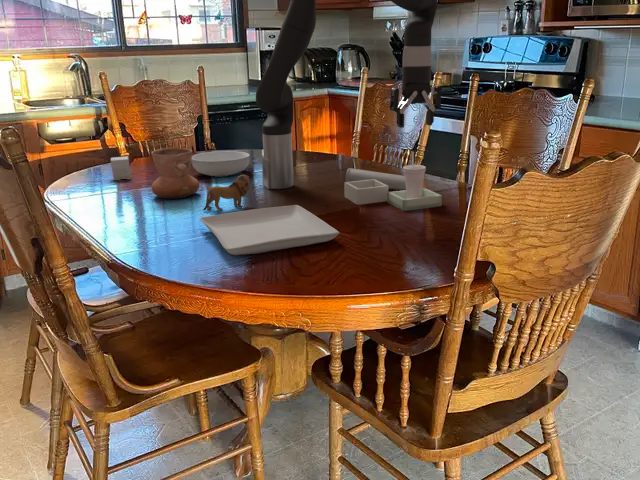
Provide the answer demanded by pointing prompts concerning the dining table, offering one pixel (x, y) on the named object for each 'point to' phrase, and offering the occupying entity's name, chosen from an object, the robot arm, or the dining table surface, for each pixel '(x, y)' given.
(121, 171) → the skincare box
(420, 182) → the smoothie
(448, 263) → the dining table surface
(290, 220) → the square plate
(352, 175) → the tube
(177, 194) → the ceramic jug
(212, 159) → the serving bowl
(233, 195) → the lion figurine
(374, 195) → the hollow square frame
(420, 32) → the robot arm
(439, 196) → the tray
